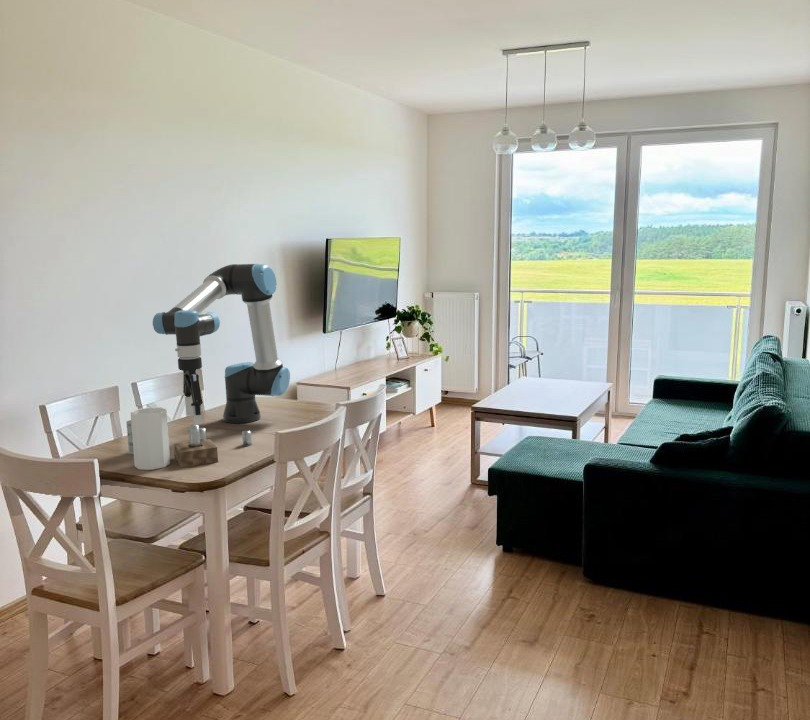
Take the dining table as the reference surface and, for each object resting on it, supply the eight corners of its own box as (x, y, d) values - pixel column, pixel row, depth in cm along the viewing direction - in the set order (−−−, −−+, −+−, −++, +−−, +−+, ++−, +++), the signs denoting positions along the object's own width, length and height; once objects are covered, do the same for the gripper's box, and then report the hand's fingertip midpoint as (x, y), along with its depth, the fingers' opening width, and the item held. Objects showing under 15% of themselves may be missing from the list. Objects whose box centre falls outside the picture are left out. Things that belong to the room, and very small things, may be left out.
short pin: (250, 443, 272) (249, 429, 271) (252, 445, 269) (252, 431, 269) (241, 444, 271) (241, 430, 270) (244, 446, 268) (243, 432, 267)
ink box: (157, 452, 262) (155, 419, 261) (147, 456, 258) (144, 422, 256) (138, 450, 266) (135, 417, 264) (128, 453, 262) (125, 420, 260)
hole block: (210, 452, 260) (209, 439, 260) (218, 461, 250) (217, 447, 249) (175, 457, 255) (174, 443, 254) (181, 467, 245) (180, 452, 244)
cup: (154, 458, 255) (150, 405, 252) (177, 463, 249) (173, 409, 246) (127, 467, 246) (122, 412, 243) (150, 472, 240) (146, 416, 237)
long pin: (200, 458, 255) (197, 423, 253) (202, 460, 252) (199, 425, 250) (190, 459, 253) (188, 425, 251) (192, 461, 250) (190, 427, 248)
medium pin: (206, 449, 265) (204, 427, 264) (207, 451, 262) (206, 429, 261) (196, 450, 264) (195, 428, 263) (198, 452, 261) (197, 430, 260)
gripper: (171, 353, 256) (176, 413, 260) (184, 364, 234) (189, 429, 238) (193, 350, 260) (198, 410, 263) (208, 361, 237) (213, 426, 241)
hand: (194, 419), depth 251 cm, fingers open, 13 cm apart
